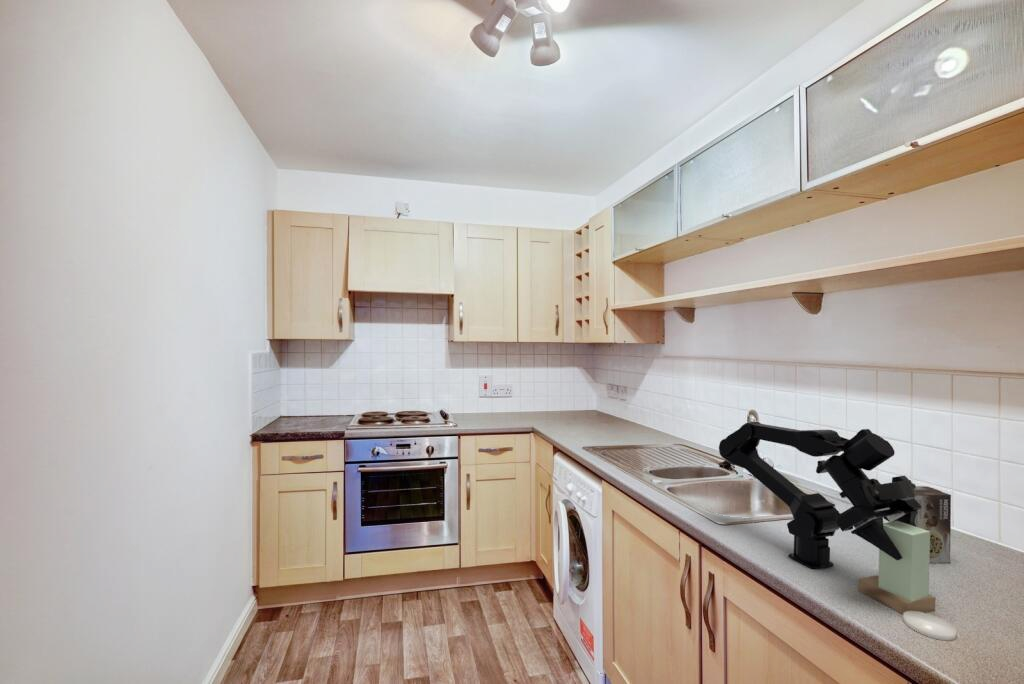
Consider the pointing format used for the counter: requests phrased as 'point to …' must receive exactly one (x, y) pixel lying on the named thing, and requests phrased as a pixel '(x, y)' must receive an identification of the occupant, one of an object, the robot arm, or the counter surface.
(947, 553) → the coffee box
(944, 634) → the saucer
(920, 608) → the podium
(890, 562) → the carton
